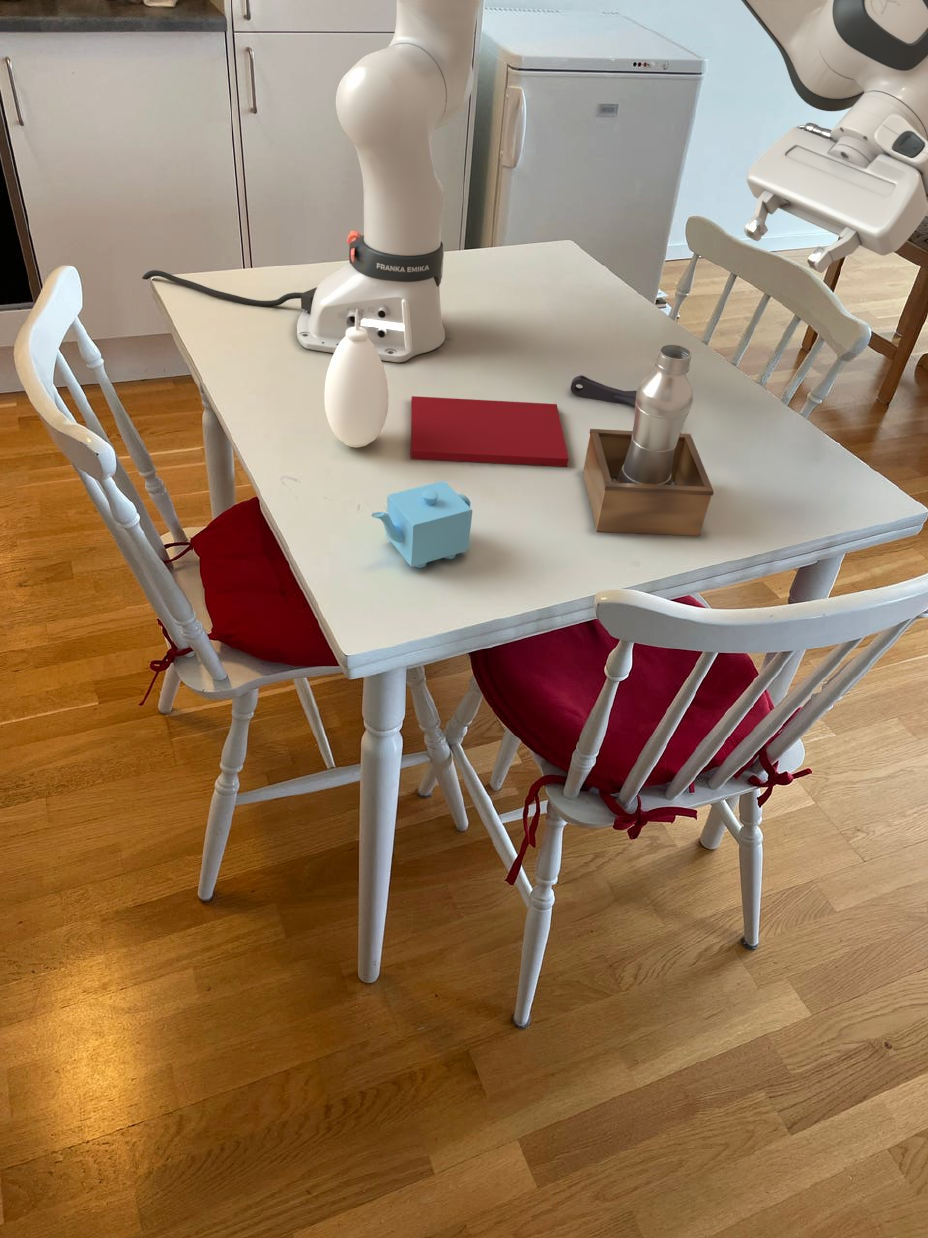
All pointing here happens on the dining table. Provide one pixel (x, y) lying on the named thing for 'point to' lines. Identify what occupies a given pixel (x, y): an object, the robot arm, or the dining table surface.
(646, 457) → the metal bottle
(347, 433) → the white air blower bulb
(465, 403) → the cushion mat
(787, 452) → the dining table surface
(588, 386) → the squeegee
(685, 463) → the wooden box
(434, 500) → the teapot
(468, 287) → the dining table surface
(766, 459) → the dining table surface
